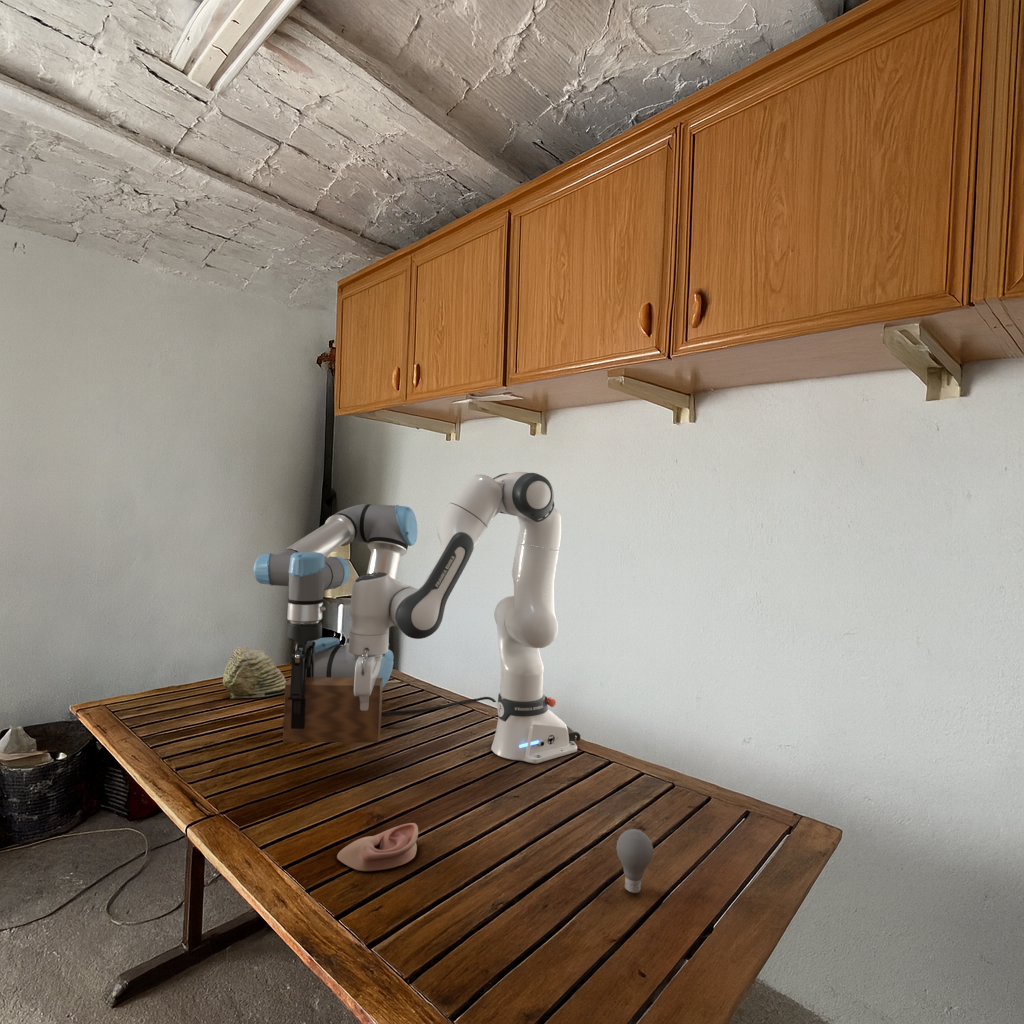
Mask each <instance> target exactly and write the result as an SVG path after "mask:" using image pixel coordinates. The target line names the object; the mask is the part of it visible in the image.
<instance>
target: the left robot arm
mask: <svg viewBox="0 0 1024 1024" xmlns="http://www.w3.org/2000/svg"><path fill="white" fill-rule="evenodd" d="M417 539H418V521H417V516H416V514H415V512H414V510H413V508H411V507H410V506H405V505H399V504H393V505H392V504H371V503H362V504H361V503H360V504H356V505H353V506H349V507H346V508H345V509H341V510H340V511H338V512H336V513H334V514H332V515H330V516H329V517H327V519H326V520H325V522H324V524H323V525H321V526H320V527H318V528H317V529H315V530H313V531H311V532H310V533H308V534H307V535H305V536H303V537H302V538H300V539H299V540H298V541H296V542H294V543H292V544H291V545H290V546H288V547H287V548H284V549H283V550H282V551H280V552H278V553H272V552H271V553H263V554H262V553H261V554H260V555H258V557H257V558H256V559H255V561H254V564H253V576H254V579H255V581H256V582H258V583H259V584H261V585H268V586H277V587H288V600H287V614H286V615H287V617H286V619H287V620H288V622H287V624H286V625H287V626H286V638H287V639H288V640H289V641H292V642H293V641H294V642H295V647H293V649H292V654H291V656H290V658H291V669H290V670H291V673H290V678H291V687H290V697H288V700H292V716H291V729H304V724H305V696H304V694H305V684H306V677H343V678H354V677H355V666H356V661H357V660H355V659H354V654H351V653H350V652H349V636H347V638H346V642H345V644H340V643H341V641H340V639H339V638H338V637H334V636H333V637H323V622H322V621H321V620H322V619H323V612H325V611H326V606H323V605H324V591H328V590H333V589H337V588H339V587H341V586H343V585H345V584H346V583H348V581H349V579H350V577H351V568H350V565H349V563H348V561H347V560H346V559H344V558H343V557H341V556H329V557H327V556H328V555H330V554H331V553H332V552H334V551H335V550H337V549H339V547H345V546H348V545H350V544H351V543H365V544H367V545H366V546H367V548H368V550H369V551H370V557H369V561H368V566H367V571H366V574H368V573H375V572H376V573H378V572H383V573H386V574H388V575H389V576H390V577H391V578H393V579H395V580H396V581H397V578H398V574H399V573H398V572H399V567H400V562H401V558H402V557H404V556H405V555H406V554H407V553H408V548H409V547H412V546H414V545H415V544H416V542H417ZM394 659H395V657H394V653H393V651H392V650H390V643H389V644H388V652H387V653H385V654H383V655H382V659H381V665H380V670H379V673H378V676H377V678H383V686H382V689H384V687H385V686H386V685H387V684H388V682H389V680H390V677H391V675H392V672H393V668H394V662H395V661H394ZM483 700H488V701H491V702H493V703H496V702H497V700H495V699H494V698H493V697H490V696H482V697H477V698H471V699H470V698H469V699H464V700H460V701H454V702H450V703H445V704H440V705H435V706H429V707H424V708H417V709H416V708H415V709H405V710H403V709H402V710H389V711H381V716H385V715H395V714H396V715H397V714H411V713H412V714H413V713H420V712H427V711H433V710H438V709H443V708H447V707H448V708H449V707H452V706H457V705H461V704H466V703H467V704H468V703H473V702H474V703H475V702H479V701H483Z"/></svg>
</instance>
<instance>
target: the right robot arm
mask: <svg viewBox="0 0 1024 1024" xmlns="http://www.w3.org/2000/svg"><path fill="white" fill-rule="evenodd" d="M554 496H555V495H554V489H553V486H552V484H551V482H550V480H548V478H546V477H545V476H544V475H541V474H539V473H537V472H525V471H516V472H515V471H514V472H510V473H502V474H499V475H497V476H495V477H492V476H489V475H486V474H475V475H473V476H472V477H470V478H469V479H468V480H467V481H466V482H465V483H464V484H463V485H462V486H461V488H460V489H459V490H458V491H457V492H456V494H455V495H454V496H453V497H452V499H451V500H450V502H449V503H448V504H447V506H446V508H445V509H444V511H443V512H442V514H441V516H440V519H439V521H438V523H437V526H436V532H437V537H438V539H439V542H440V543H439V544H440V552H439V555H438V558H437V560H435V563H434V565H433V566H432V568H431V570H430V571H429V573H428V575H427V577H426V579H425V580H424V582H423V583H422V585H421V586H420V587H419V588H416V587H414V586H412V585H411V586H410V585H407V584H405V583H403V582H401V581H398V580H397V579H396V580H395V579H393V578H391V577H390V576H389V575H388V574H386V573H383V572H378V573H376V572H375V573H368V574H367V573H364V574H362V575H360V576H358V577H357V578H356V579H355V580H354V582H353V585H352V590H351V596H350V610H349V611H350V617H351V624H350V626H349V636H348V637H349V652H350V653H351V654H354V659H355V660H357V661H356V666H355V677H354V695H355V696H359V698H360V710H361V711H367V710H368V708H369V696H370V695H371V692H372V690H373V687H374V684H375V681H376V678H377V676H378V673H379V670H380V665H381V659H382V655H383V654H385V653H387V652H388V649H389V648H388V644H389V645H390V643H389V642H390V641H389V640H390V639H389V638H390V628H391V627H397V628H399V630H400V631H401V632H402V633H403V634H404V635H405V636H406V637H408V638H411V639H414V640H421V639H426V638H428V637H430V636H432V635H433V634H435V633H436V632H437V631H438V629H439V628H440V626H441V624H442V622H443V618H444V615H445V609H446V605H447V602H448V600H449V597H450V595H451V594H452V592H453V590H454V589H455V587H456V584H457V583H458V581H459V579H460V577H461V576H462V574H463V572H464V571H465V568H466V567H467V564H468V562H469V560H470V558H471V556H472V554H473V552H474V550H475V549H476V546H477V545H478V543H479V541H480V540H481V538H482V537H483V536H484V534H485V533H486V531H487V529H488V528H489V526H490V524H491V523H492V521H493V519H494V518H495V517H496V516H497V515H498V514H504V515H510V516H514V517H517V520H518V524H519V532H518V536H517V540H516V546H515V553H514V557H513V562H512V568H511V576H512V581H513V595H510V596H505V597H503V598H502V599H500V600H499V601H498V603H497V604H496V606H495V608H494V611H493V617H494V621H495V624H496V629H497V630H496V631H497V641H498V642H497V643H498V648H499V649H498V650H499V657H500V683H499V684H500V685H499V693H498V695H497V696H498V697H497V709H496V710H497V722H496V729H495V733H494V737H493V741H492V744H491V747H490V748H491V751H492V752H493V753H494V754H495V755H496V756H498V757H501V758H503V759H507V760H513V761H521V762H526V763H530V764H539V763H543V762H547V761H551V760H553V759H557V758H560V757H563V756H567V755H570V754H573V753H576V752H578V745H577V744H576V742H575V741H577V742H580V741H581V733H579V732H577V731H574V730H573V729H572V728H570V727H569V726H568V725H567V724H566V723H565V722H564V721H563V720H562V719H561V718H560V717H559V716H557V714H555V713H554V712H553V711H552V710H550V709H549V707H551V708H554V707H555V706H556V705H557V700H556V699H554V698H552V697H551V696H550V697H548V696H546V695H545V694H544V673H545V671H544V670H545V667H544V662H543V660H542V656H541V651H540V649H543V648H547V647H549V646H550V645H552V644H553V642H554V641H555V639H556V638H557V636H558V634H559V622H558V619H557V616H556V611H555V576H556V570H557V565H558V564H557V563H558V559H559V552H560V546H561V538H562V516H561V512H559V510H558V509H557V508H555V500H554V499H555V497H554ZM548 706H549V707H548Z"/></svg>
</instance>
